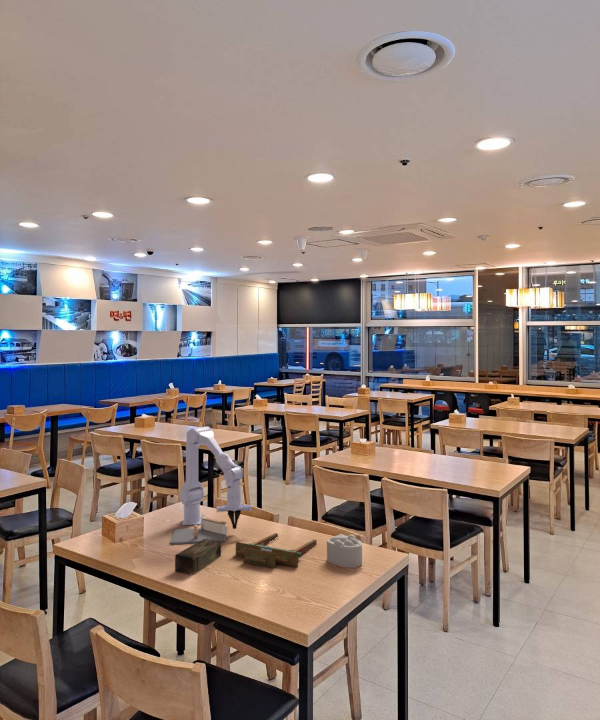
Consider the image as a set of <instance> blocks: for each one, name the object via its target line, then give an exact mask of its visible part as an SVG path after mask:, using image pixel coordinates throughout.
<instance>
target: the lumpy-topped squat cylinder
mask: <svg viewBox="0 0 600 720" xmlns="http://www.w3.org/2000/svg"><path fill="white" fill-rule="evenodd" d="M326 561H327V562H328V563H329V564H332V565H335V566H337V565H338V567H341V566H343V568H357V567H356V566H359V567H361V566H363V543H362V541H361V540H360V539H358V538H357V537H356V536H355V534H348V535H345V534H342V533H340V534H337V535H335V536H332V537H330V538H329V539H327V540H326ZM360 565H361V566H360Z"/></svg>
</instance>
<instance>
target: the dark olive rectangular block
mask: <svg viewBox="0 0 600 720" xmlns="http://www.w3.org/2000/svg"><path fill="white" fill-rule="evenodd" d="M221 554H222V542H221V541H217V540H211V539H209V538H206V539H203V540H201V541H200V542H198V543H193V544H192V545H190V546H188V547H187V548H185V549H183V550H181V551H179V552H178V553H176V554H175V556H174V571H175V572H177V573H181V572H182V574H186V573H187V575H191V574H193V575H194V574H195V572H196V573H197V572H199V571H200V570H202V569H203V568H205V567H206V566H208V565H209V564H211V563H212V562H214V561H216V560H217V559H219V558H221V556H222V555H221Z"/></svg>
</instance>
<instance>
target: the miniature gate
mask: <svg viewBox="0 0 600 720" xmlns="http://www.w3.org/2000/svg"><path fill="white" fill-rule="evenodd" d="M276 537H279V534H278V533H277V532H276V533H273V534H270V535H268V536H266V537H264V538H262V539H260V540H258V541H255V542H253V543H245V542H239V541H234V542H235V556H239V557H243V563H245V564H246V563H247V564H251V565H252V564H253V565H257V566H262V567H265V568H266V567H267V568H271V569H272V568H273V569H274V568H275V569H276V564H278V563H279V565H285V566H290V567H295V568H298V567H299V558H301V557H302V555H304V554H305V553H307V552H308V551H310V550H311V549H312V548H314V547H315V546H317V539H312V540H310V541H309V542H306V543H305V544H303V545H302V546H299V547H297V548H295V549H285V548H278V547H274V546H273V547H272V546H267V545H268V543H269V542H270V541H272V540H274V539H275V538H276ZM275 540H276V539H275ZM275 540H274V541H275ZM272 542H273V541H272ZM270 543H271V542H270ZM270 543H269V544H270ZM266 544H267V545H266ZM313 546H314V547H313ZM309 549H310V550H309Z"/></svg>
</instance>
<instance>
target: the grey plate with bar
mask: <svg viewBox="0 0 600 720" xmlns="http://www.w3.org/2000/svg"><path fill="white" fill-rule="evenodd" d="M201 517H205V514H202V515H201ZM227 530H228V526H225V534H219V533H215V532H211V531H207V530H202V529H201V527H199V525H193V528H178V529H177V528H176V529H174V532H173V534H172V537H171V539H170V540H169V541H170V542H169V546H170V545H187V544H188V545H190V544H192V545H193V544H196V543H198V542H200V541H201V540H203V539H206V538H209V539H211V540H217V541H221V543H226V539H227V533H228V531H227Z"/></svg>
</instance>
